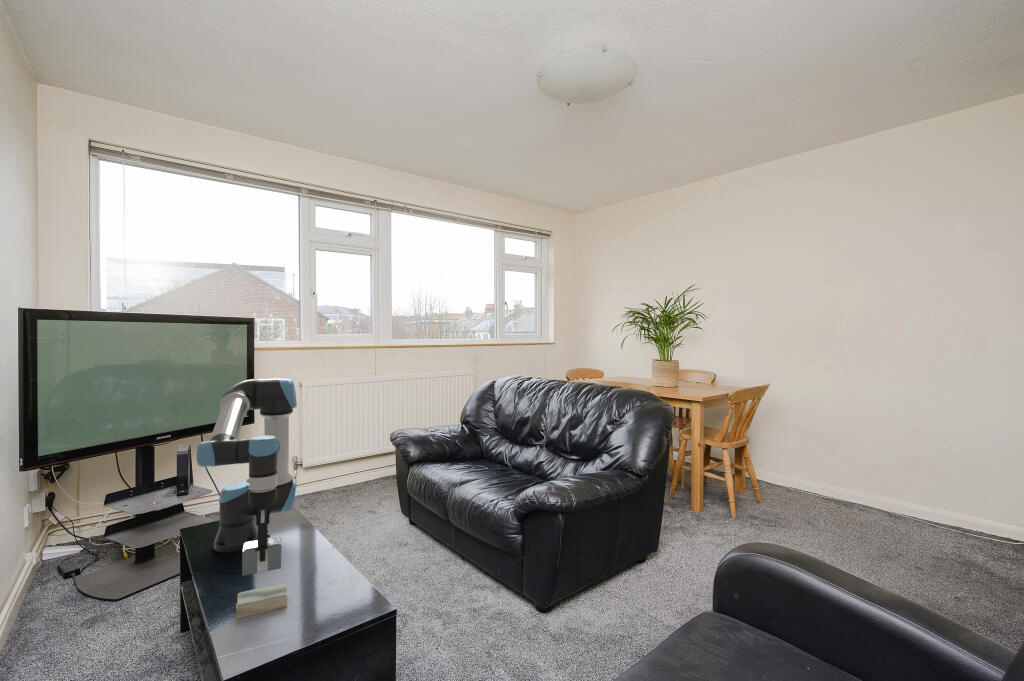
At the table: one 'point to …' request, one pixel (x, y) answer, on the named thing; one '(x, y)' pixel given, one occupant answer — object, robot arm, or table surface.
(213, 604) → the table surface
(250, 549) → the housing
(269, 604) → the stand
